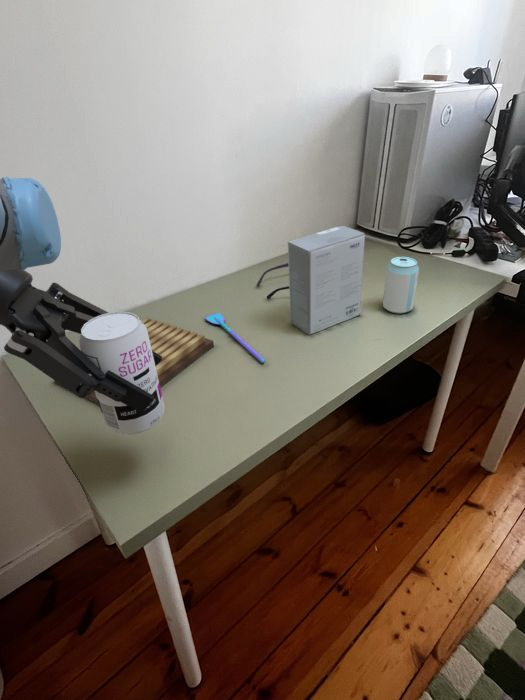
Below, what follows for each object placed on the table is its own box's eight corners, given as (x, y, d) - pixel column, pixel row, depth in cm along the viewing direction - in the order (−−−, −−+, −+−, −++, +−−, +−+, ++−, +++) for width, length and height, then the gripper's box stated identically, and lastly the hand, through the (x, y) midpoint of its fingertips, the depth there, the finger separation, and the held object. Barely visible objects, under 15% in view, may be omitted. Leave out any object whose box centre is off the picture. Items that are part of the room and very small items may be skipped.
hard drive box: (339, 303, 108) (343, 224, 97) (360, 315, 103) (368, 233, 92) (288, 322, 102) (287, 240, 90) (308, 336, 96) (309, 250, 85)
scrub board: (123, 416, 77) (119, 403, 75) (54, 382, 86) (50, 370, 85) (214, 346, 95) (212, 334, 93) (148, 324, 104) (146, 313, 103)
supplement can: (120, 397, 65) (94, 308, 57) (173, 400, 64) (154, 310, 56) (95, 435, 58) (62, 341, 50) (154, 439, 57) (129, 344, 49)
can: (376, 305, 106) (381, 259, 100) (399, 298, 109) (405, 253, 102) (395, 317, 101) (401, 269, 94) (419, 310, 103) (427, 263, 97)
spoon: (202, 318, 105) (201, 314, 104) (217, 313, 107) (216, 309, 106) (260, 365, 88) (260, 360, 87) (276, 358, 89) (276, 353, 89)
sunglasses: (326, 292, 114) (327, 274, 111) (270, 304, 110) (270, 286, 107) (305, 273, 125) (306, 256, 122) (254, 283, 121) (253, 266, 118)
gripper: (5, 271, 59) (147, 357, 68) (-86, 356, 41) (122, 457, 51) (31, 229, 56) (175, 325, 66) (-54, 302, 39) (160, 419, 48)
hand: (152, 383), depth 58 cm, fingers closed on supplement can, 8 cm apart
